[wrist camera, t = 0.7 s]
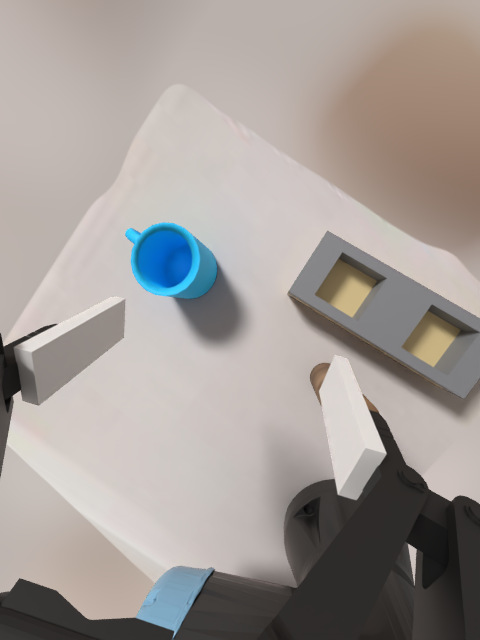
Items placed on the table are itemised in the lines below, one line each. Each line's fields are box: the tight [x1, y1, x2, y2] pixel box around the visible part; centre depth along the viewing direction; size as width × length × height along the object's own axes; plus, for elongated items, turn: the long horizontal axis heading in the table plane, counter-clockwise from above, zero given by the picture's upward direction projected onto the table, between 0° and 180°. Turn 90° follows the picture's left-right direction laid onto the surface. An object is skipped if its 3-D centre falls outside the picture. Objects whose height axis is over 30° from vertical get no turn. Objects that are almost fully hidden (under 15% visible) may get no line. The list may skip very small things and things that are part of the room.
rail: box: [287, 231, 480, 399], centre depth 32 cm, size 22×8×5 cm, turn 58°
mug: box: [125, 223, 217, 299], centre depth 34 cm, size 12×8×8 cm
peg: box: [310, 363, 379, 413], centre depth 28 cm, size 4×4×14 cm
